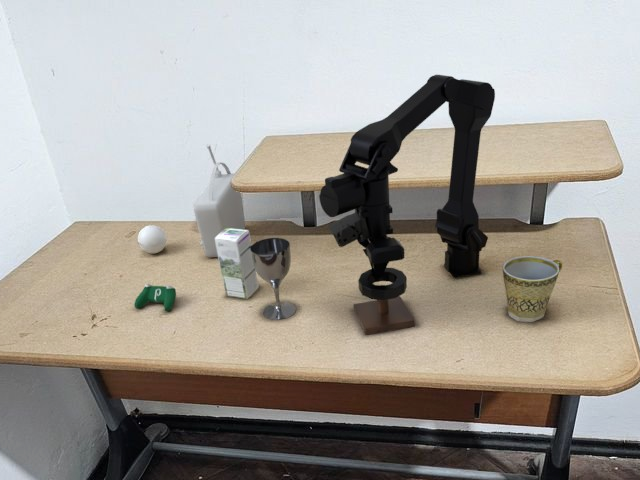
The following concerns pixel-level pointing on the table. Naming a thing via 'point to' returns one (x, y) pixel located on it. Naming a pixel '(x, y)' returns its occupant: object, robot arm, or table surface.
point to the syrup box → (236, 263)
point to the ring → (384, 291)
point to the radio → (218, 208)
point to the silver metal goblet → (273, 272)
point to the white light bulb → (152, 239)
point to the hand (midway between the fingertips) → (377, 275)
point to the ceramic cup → (529, 286)
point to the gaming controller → (156, 296)
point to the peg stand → (383, 315)
